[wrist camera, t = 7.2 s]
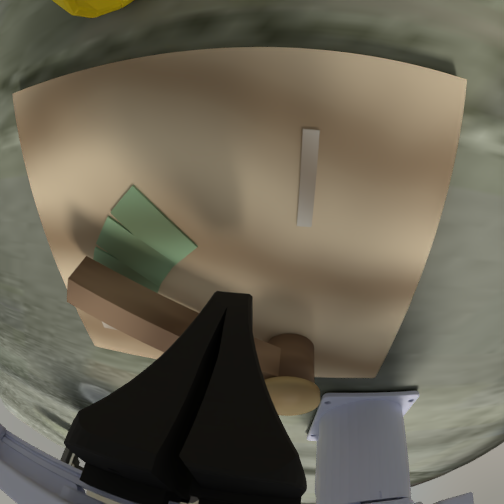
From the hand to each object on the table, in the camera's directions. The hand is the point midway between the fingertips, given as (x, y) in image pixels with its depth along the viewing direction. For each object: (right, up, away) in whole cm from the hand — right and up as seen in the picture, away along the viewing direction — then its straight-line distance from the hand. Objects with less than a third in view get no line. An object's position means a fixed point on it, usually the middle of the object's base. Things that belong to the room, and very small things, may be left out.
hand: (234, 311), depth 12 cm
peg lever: (-2, -1, +5) cm, 5 cm away
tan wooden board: (-1, +2, +3) cm, 4 cm away
